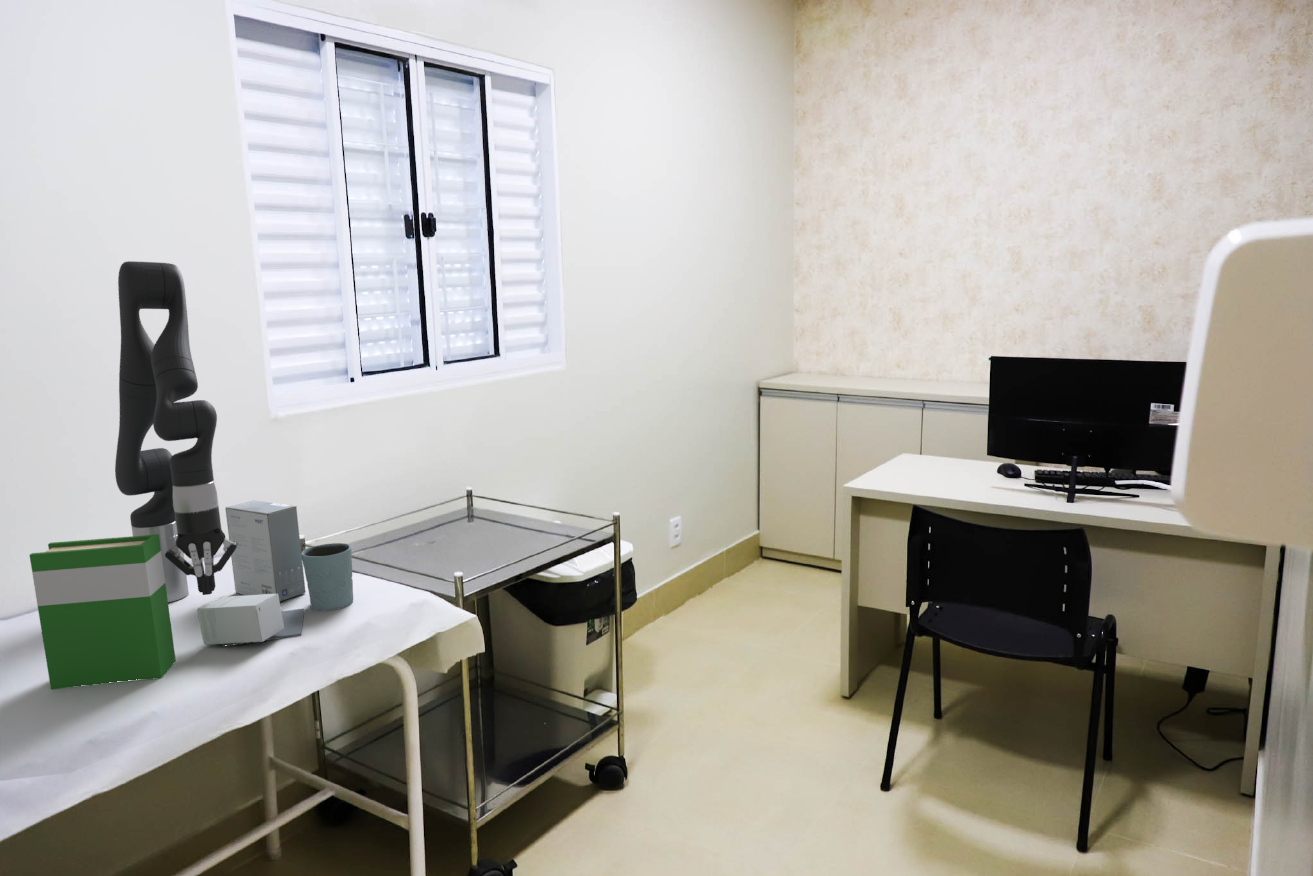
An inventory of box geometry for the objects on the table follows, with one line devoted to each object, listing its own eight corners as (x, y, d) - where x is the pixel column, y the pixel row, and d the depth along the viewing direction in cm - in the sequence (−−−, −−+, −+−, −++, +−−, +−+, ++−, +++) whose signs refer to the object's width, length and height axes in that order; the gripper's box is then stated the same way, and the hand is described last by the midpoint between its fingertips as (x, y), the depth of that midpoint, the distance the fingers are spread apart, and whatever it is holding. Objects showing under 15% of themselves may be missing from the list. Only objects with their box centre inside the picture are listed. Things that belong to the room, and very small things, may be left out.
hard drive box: (307, 593, 200) (298, 506, 197) (276, 604, 194) (266, 514, 191) (264, 583, 209) (254, 499, 205) (233, 593, 202) (223, 506, 199)
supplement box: (203, 645, 171) (262, 643, 169) (196, 608, 170) (255, 604, 168) (228, 632, 178) (285, 629, 176) (222, 595, 177) (279, 592, 175)
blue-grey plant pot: (328, 614, 187) (323, 558, 185) (296, 607, 192) (290, 553, 190) (366, 599, 195) (361, 545, 193) (334, 592, 200) (329, 540, 198)
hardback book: (50, 689, 155) (29, 554, 151) (70, 671, 163) (50, 542, 159) (161, 678, 158) (143, 545, 154) (175, 661, 166) (158, 534, 162)
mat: (230, 620, 185) (230, 618, 185) (303, 610, 190) (303, 608, 190) (222, 647, 171) (221, 645, 171) (301, 635, 176) (300, 633, 176)
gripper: (236, 498, 177) (246, 583, 180) (161, 505, 173) (172, 592, 176) (232, 506, 170) (242, 594, 173) (153, 514, 166) (165, 604, 169)
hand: (207, 593), depth 175 cm, fingers closed
